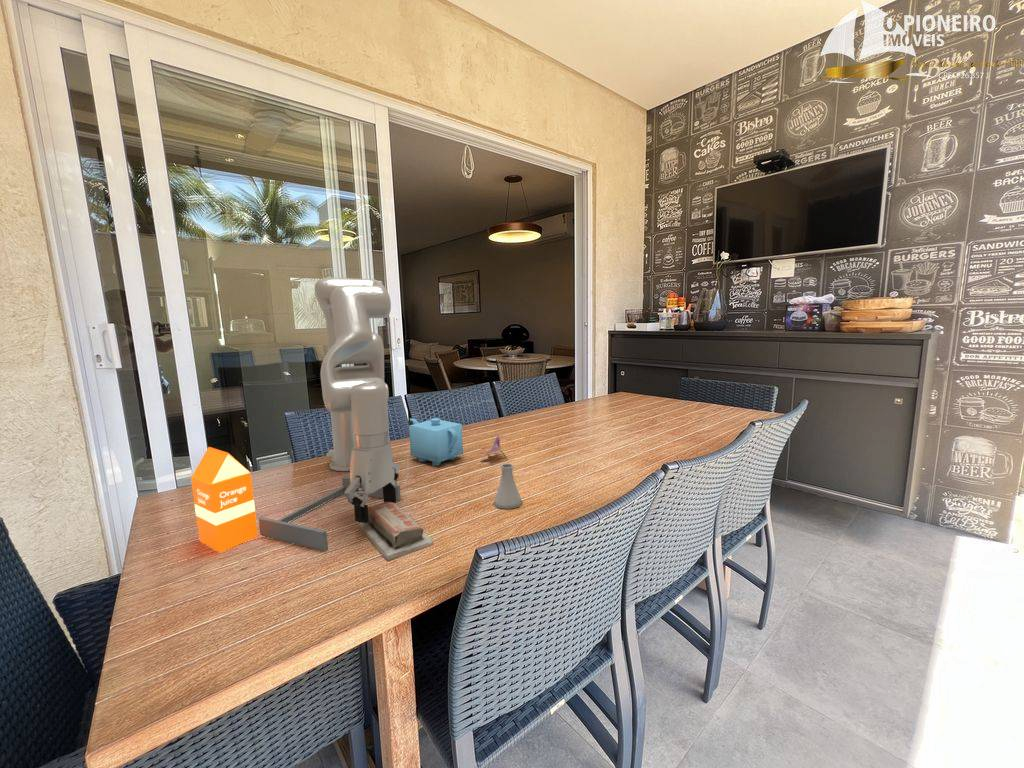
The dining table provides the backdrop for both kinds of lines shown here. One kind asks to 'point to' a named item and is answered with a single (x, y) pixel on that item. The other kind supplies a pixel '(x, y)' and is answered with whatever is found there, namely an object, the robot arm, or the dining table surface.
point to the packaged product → (393, 531)
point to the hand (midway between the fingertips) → (376, 511)
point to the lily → (496, 446)
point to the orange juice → (223, 501)
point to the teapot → (435, 440)
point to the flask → (507, 490)
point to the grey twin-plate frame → (302, 533)
